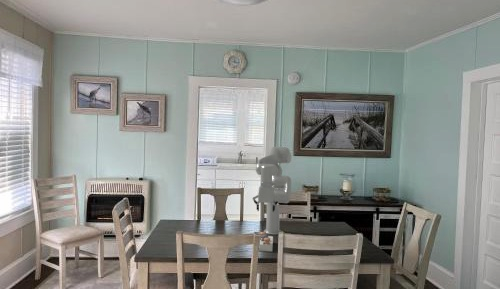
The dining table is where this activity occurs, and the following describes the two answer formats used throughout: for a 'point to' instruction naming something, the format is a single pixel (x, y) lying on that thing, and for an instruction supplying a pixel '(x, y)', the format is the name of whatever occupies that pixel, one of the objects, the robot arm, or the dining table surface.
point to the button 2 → (267, 241)
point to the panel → (266, 247)
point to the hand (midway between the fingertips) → (265, 211)
